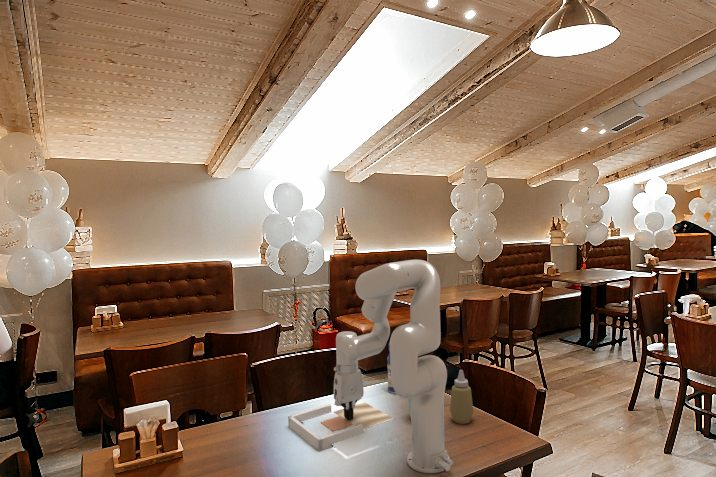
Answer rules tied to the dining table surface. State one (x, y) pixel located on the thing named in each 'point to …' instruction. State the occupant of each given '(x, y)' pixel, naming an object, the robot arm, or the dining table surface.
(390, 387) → the beverage bottle
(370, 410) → the beige square board
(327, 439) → the box
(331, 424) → the tile
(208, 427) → the dining table surface
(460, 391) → the squeeze bottle
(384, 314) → the robot arm
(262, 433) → the dining table surface
